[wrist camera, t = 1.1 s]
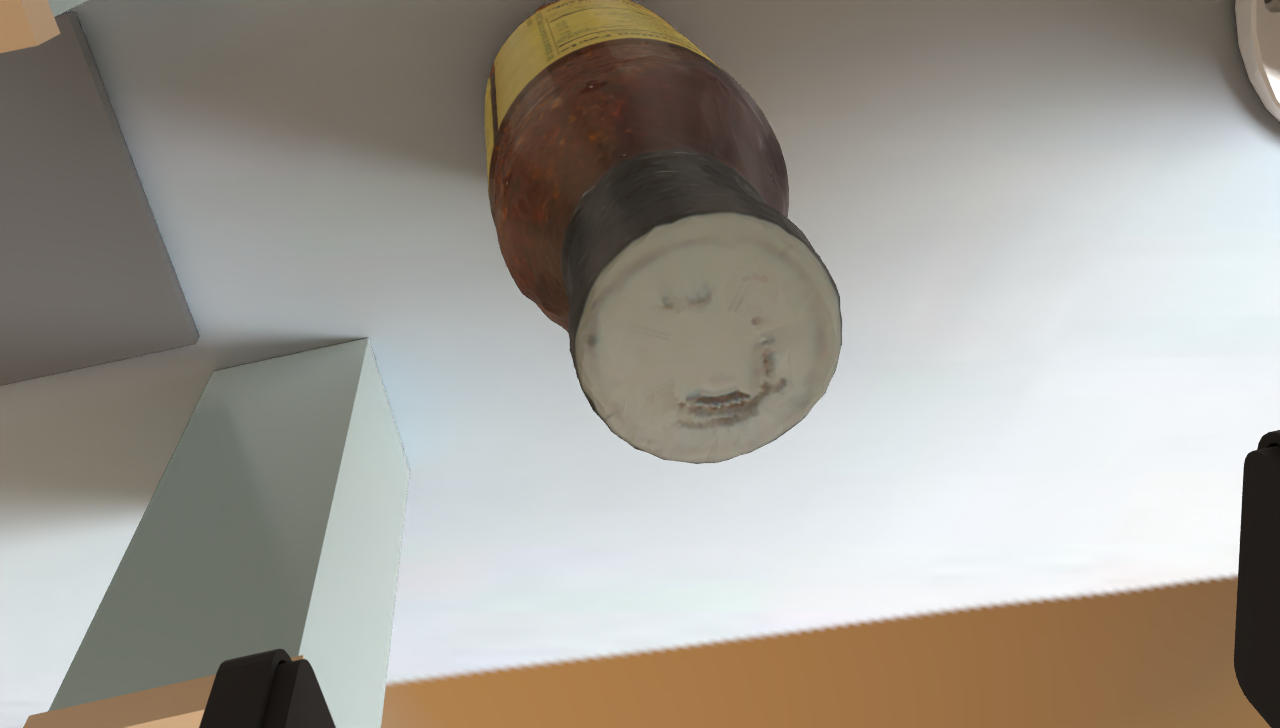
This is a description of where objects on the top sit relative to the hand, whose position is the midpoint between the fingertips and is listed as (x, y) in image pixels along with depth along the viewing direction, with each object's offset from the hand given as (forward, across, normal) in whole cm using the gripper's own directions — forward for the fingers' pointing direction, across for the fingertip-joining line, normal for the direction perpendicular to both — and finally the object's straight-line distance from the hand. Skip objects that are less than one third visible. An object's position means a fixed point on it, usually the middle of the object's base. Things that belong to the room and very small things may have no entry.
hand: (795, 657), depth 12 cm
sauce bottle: (+26, 0, 0) cm, 26 cm away
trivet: (+26, +19, 0) cm, 32 cm away
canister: (+26, +11, +9) cm, 30 cm away
